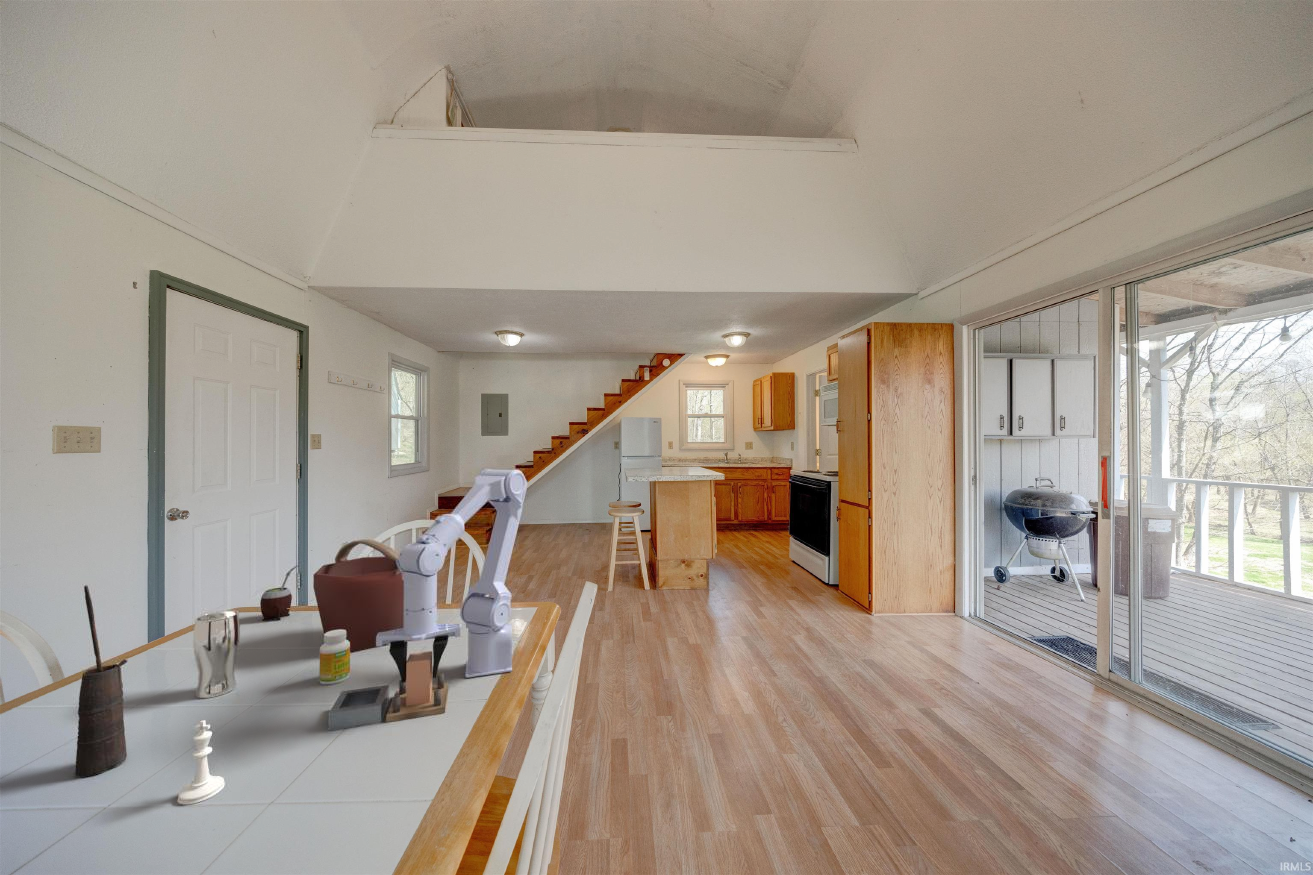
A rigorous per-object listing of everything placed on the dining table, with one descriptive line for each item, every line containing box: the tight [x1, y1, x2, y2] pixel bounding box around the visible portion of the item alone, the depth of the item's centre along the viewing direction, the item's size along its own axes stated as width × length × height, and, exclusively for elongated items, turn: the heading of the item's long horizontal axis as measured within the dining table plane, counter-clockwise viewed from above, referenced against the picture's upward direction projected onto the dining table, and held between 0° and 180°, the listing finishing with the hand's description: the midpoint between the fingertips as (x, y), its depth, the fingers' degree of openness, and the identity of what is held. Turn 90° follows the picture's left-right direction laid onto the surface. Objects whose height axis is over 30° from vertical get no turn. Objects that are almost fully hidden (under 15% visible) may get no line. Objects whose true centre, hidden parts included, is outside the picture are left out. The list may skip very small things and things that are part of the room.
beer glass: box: [192, 609, 241, 699], centre depth 99 cm, size 7×7×15 cm
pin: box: [406, 650, 433, 706], centre depth 93 cm, size 4×4×8 cm
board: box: [385, 673, 450, 723], centre depth 93 cm, size 10×10×4 cm
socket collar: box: [328, 684, 391, 732], centre depth 90 cm, size 8×8×3 cm
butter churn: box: [74, 584, 128, 778], centre depth 77 cm, size 9×10×28 cm
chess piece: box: [177, 719, 226, 806], centre depth 70 cm, size 5×5×10 cm
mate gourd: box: [259, 564, 300, 622], centre depth 140 cm, size 8×8×15 cm
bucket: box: [313, 539, 404, 654], centre depth 125 cm, size 24×22×25 cm
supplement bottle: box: [318, 629, 351, 685], centre depth 104 cm, size 5×5×10 cm
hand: (419, 678), depth 93 cm, fingers open, 5 cm apart
